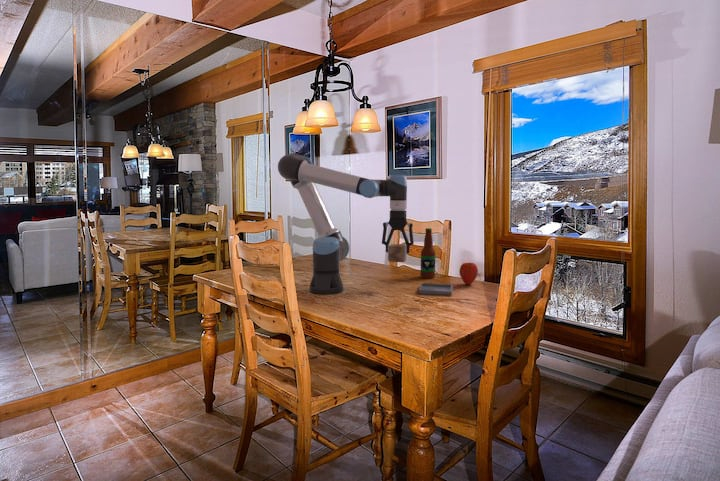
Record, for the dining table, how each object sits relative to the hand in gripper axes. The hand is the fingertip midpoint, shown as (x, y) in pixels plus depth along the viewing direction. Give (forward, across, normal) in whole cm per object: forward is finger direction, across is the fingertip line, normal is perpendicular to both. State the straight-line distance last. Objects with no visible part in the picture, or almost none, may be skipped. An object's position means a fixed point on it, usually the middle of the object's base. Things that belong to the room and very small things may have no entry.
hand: (397, 259), depth 211 cm
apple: (+13, +32, +13) cm, 37 cm away
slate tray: (+13, +18, -3) cm, 22 cm away
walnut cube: (0, 0, 0) cm, 0 cm away
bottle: (+13, +12, +25) cm, 31 cm away
